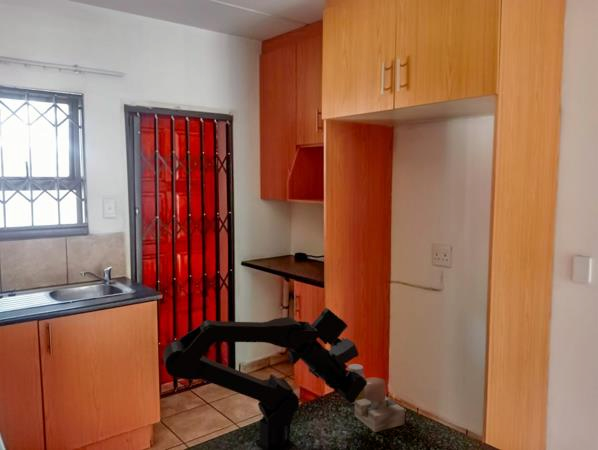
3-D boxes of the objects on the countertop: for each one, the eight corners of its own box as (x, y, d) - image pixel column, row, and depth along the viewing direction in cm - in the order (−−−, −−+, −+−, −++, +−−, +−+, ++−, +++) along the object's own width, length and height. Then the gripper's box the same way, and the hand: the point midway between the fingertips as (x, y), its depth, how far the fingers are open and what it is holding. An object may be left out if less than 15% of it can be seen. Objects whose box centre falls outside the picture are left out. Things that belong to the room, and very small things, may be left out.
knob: (371, 422, 115) (372, 387, 114) (360, 412, 120) (360, 379, 119) (388, 417, 117) (389, 383, 117) (376, 408, 122) (377, 376, 121)
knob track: (374, 432, 113) (375, 416, 113) (354, 415, 121) (354, 400, 121) (404, 424, 117) (404, 409, 117) (382, 408, 125) (383, 394, 125)
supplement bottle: (341, 398, 131) (342, 364, 131) (357, 394, 134) (358, 361, 133) (351, 406, 127) (352, 371, 126) (368, 402, 129) (369, 368, 128)
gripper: (360, 343, 103) (399, 382, 109) (319, 320, 120) (355, 356, 126) (329, 383, 100) (370, 422, 106) (291, 355, 117) (329, 389, 123)
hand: (356, 394), depth 115 cm, fingers closed
